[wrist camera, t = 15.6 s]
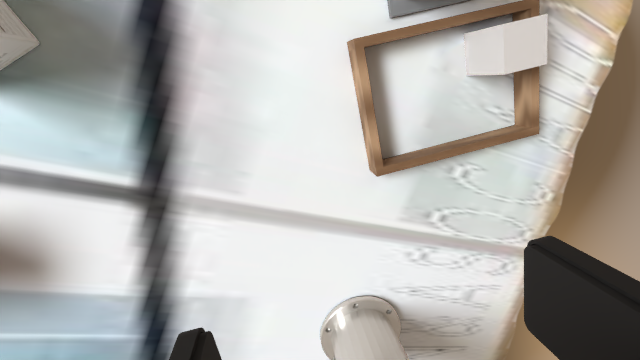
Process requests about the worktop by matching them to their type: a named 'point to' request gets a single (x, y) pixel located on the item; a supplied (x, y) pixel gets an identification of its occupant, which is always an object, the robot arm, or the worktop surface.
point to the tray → (524, 127)
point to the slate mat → (416, 6)
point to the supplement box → (13, 36)
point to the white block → (507, 47)
